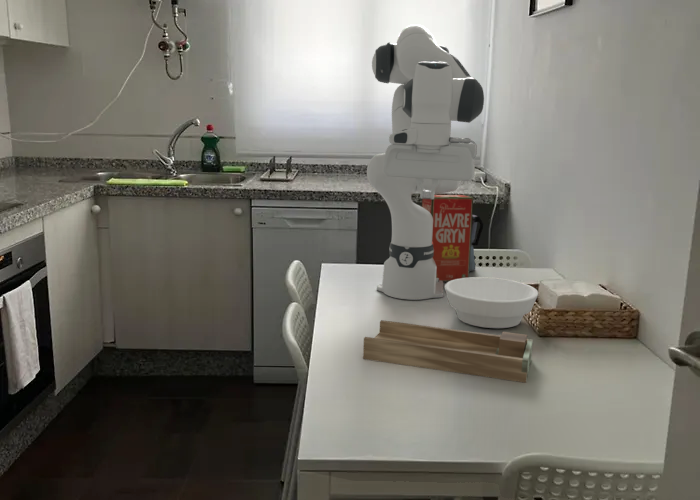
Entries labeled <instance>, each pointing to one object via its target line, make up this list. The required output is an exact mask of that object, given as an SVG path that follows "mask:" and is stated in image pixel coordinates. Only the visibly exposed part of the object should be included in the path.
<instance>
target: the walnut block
mask: <svg viewBox="0 0 700 500" xmlns="http://www.w3.org/2000/svg"><path fill="white" fill-rule="evenodd" d="M500 335H501V337H500V340H499V353H498V355H503V356H510V357H518V358H523V356H524V352H525V348H526V342H527V339H528V334H523V333H517V332H509V331H502V333H501V334H500Z"/></svg>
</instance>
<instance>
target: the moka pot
mask: <svg viewBox="0 0 700 500" xmlns="http://www.w3.org/2000/svg"><path fill="white" fill-rule="evenodd" d="M478 223H479V228H478V227H477V226H478ZM477 228H478V231H477ZM483 229H484V222H483V220H482V219H481V216H480V215H475V214H472V231H471V249H470V266H469V272H473V271H475V270H476V262H475V261H476V260H475V250H474V249H475V248H474V246H475V247H477V246H478V245H479V241H480V238H481V235H482V232H483ZM476 231H477V232H478V233H477V234H476ZM474 240H475V242H474Z"/></svg>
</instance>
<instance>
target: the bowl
mask: <svg viewBox="0 0 700 500" xmlns="http://www.w3.org/2000/svg"><path fill="white" fill-rule="evenodd" d="M444 290H445V292H446V297H447V300H448V303H449V305H450V306H451V307H452V309H455V312H456V315H457V318H458V320H460V321H461V322H463V323H465V324H467V325H471V326H475V327H478V328H487V329H488V328H489V329H507V328H512V327H516V326H518V325H520V323H521V321H522V320H523V317H524V315H527V314H529V313H530V312H531V311H532V309H533V306H534V304H535V303H536V300H537V298H538V297H539V291H538V290H537V288H535V287H533V286H531V285H529V284H527V283H523V282H521V281H516V280H512V279H506V278H500V277H499V278H497V277H487V276H477V277H476V276H473V277H471V276H469V277H468V278H460V279H455V280H451V281H446V283H445V284H444Z"/></svg>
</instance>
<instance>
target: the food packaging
mask: <svg viewBox="0 0 700 500" xmlns="http://www.w3.org/2000/svg"><path fill="white" fill-rule="evenodd" d="M421 207H423V208H425V209H426V210H428V211H429V212H430V213H431V215H432V217H433V235H432V242H433V248H434V256H433V259H434V261H435V263H436V266H437V270H436V278H439V280H441V281H443V282H449V281H451V280H455V279H460V278H468V277H470V271H469V266H470V249H471V231H472V215H473V211H474V210H473V209H474V208H473V207H474V197H473V196H470V195H465V194H434V199H422V200H421Z"/></svg>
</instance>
